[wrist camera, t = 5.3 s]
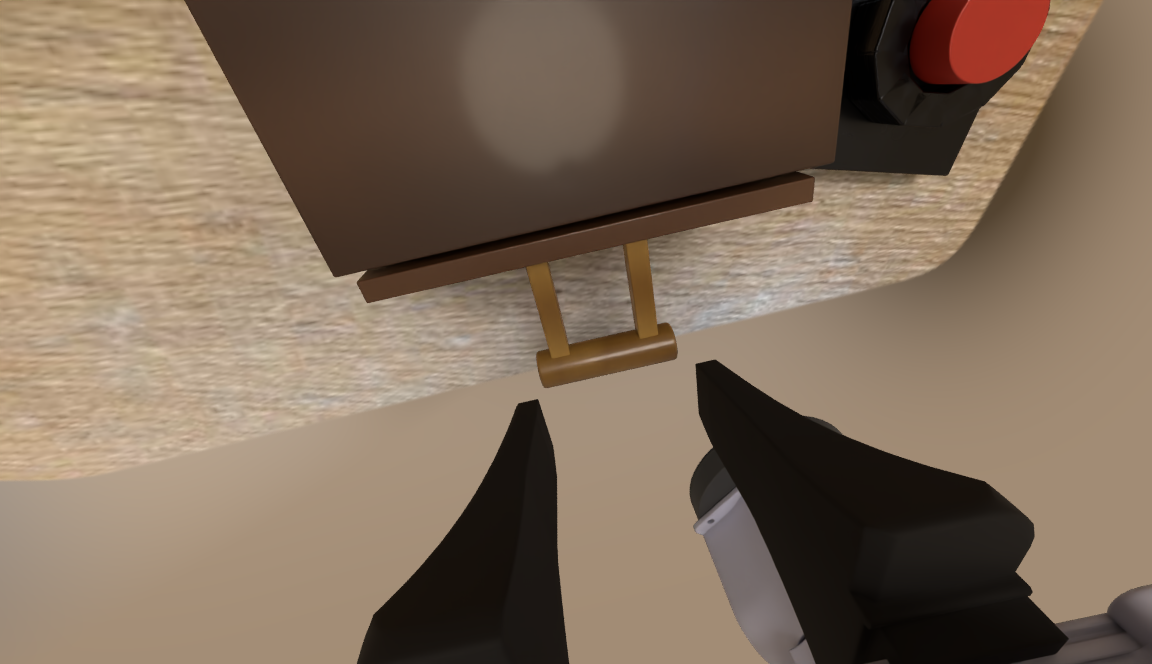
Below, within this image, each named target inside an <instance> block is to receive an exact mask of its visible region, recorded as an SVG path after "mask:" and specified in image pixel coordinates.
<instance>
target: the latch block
mask: <svg viewBox="0 0 1152 664" xmlns="http://www.w3.org/2000/svg"><path fill="white" fill-rule="evenodd" d="M930 1H931V0H852V7H851V16H850V26H849V35H848V44H847V53H846V62H845V71H844V80H843V89H842V99H841V108H840V117H839V126H838V135H837V144H836V153H835V161H834V162H833V163H830V164H826V165H822V166H817V167H813V168H809V169H826V170H845V171H864V172H883V173H902V174H920V175H939V176H947V175H948V174H949V172H950V170H951V168H952V166H953V163H954V161H955V159H956V157H957V155H958V153H959V151H960V149H961V147H962V145H963V142H964V140H965V138H966V136H967V134H968V132H969V130H970V128H971V126H972V123H973V121H974V119H975V117H976V115H977V113H978V111H979V109H980V108H981V106H984V105H985V104H986V103H987V102H988V101H989V100H990V99H991V98H992V97H993V96H994V95H995V94H996V93H997V92H998V91H999V90H1000V88H1001V87H1002V86H1003V85H1004V84H1005V83H1006V82H1007V81H1008V80H1009V79H1010V78H1011V77H1012V76H1013V75H1014V74H1015V73H1016V72H1017V71H1018V70H1019V69H1020V68H1021V65H1023V63H1024V61H1025V59H1026V57H1027V55H1028V53H1029V51H1030V50H1029V51H1028V52H1027V53H1026V55H1025V56H1024V57H1023V58H1022V59H1021V60H1020V61H1019V62H1018V63H1017V64H1016V65H1015V66H1014V67H1012V68H1011V69H1010V70H1009V71H1007V72H1006V73H1004V74H1003V75H1001V76H999V77H998V78H996V79H993V80H991V81H988V82H985V83H980V84H928V83H925V82H923V81H922V80H920V79H919V78H918V77H917V76H916V75H915V74H914V72H913V70H912V68H911V64H910V59H909V48H910V41H911V37H912V34H913V31H914V28H915V26H916V23H917V21H918V19H919V17H920V16H921V14H922V12H923V11H924V9H925V8H926V7H927V5H928V4H929V3H930ZM1049 8H1050V5H1049ZM1048 11H1049V10H1048ZM1047 15H1048V14H1047ZM1030 49H1031V48H1030Z"/></svg>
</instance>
